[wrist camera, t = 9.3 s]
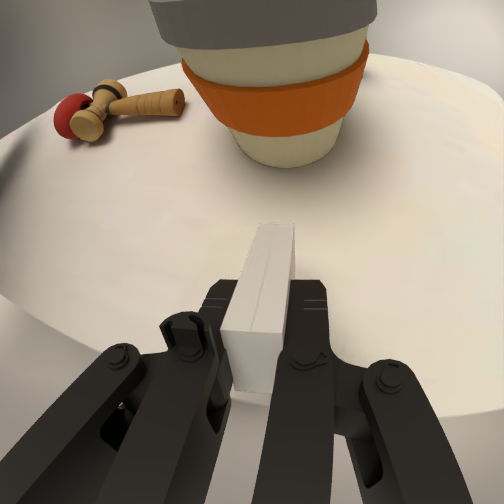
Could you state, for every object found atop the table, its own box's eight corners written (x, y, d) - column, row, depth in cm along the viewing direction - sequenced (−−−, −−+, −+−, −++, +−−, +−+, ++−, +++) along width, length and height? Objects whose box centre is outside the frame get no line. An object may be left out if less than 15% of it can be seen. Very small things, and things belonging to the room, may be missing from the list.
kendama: (197, 91, 28) (82, 104, 29) (182, 57, 21) (58, 82, 23) (181, 148, 27) (63, 152, 29) (160, 118, 21) (34, 134, 22)
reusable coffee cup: (341, 207, 19) (375, 6, 5) (193, 169, 22) (97, 27, 8) (367, 98, 22) (380, -41, 8) (247, 77, 25) (210, -43, 11)
